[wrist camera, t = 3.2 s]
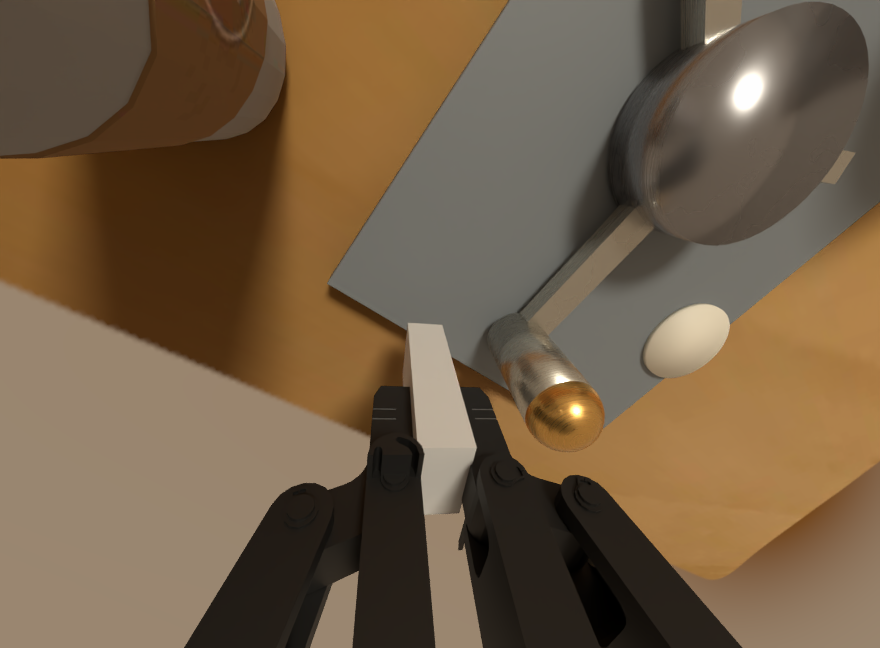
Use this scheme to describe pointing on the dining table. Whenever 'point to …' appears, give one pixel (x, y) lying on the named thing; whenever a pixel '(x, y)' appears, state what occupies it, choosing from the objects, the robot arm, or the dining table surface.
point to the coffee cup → (134, 73)
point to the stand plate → (578, 202)
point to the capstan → (696, 173)
